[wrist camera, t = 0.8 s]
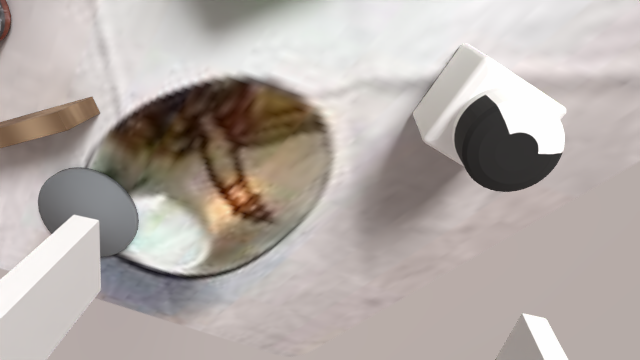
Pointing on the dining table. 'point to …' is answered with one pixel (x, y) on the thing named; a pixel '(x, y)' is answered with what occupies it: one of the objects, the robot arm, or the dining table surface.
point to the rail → (46, 122)
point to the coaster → (90, 206)
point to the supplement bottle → (4, 19)
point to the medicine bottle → (491, 122)
